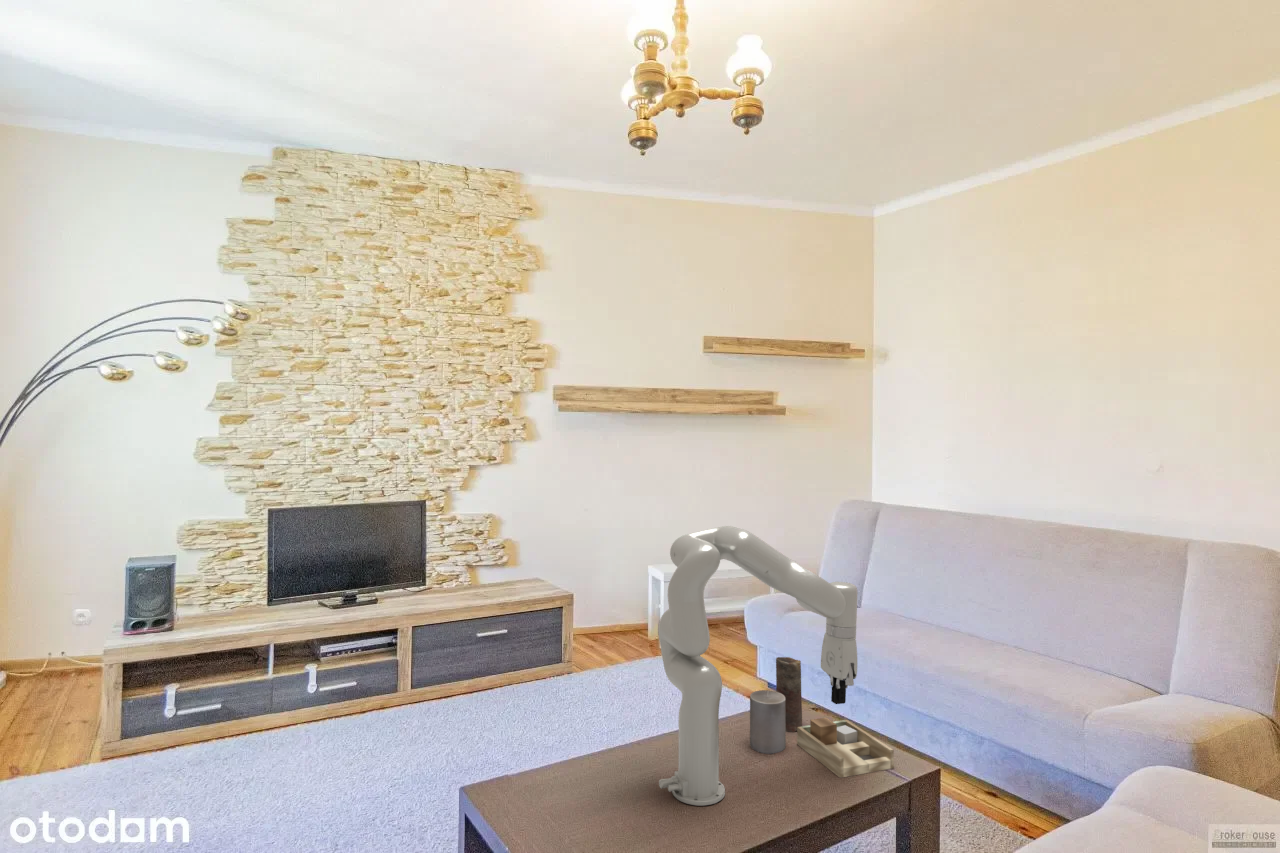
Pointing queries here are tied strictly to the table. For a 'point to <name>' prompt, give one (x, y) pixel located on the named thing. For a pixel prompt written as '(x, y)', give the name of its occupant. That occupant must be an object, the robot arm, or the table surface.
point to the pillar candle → (767, 721)
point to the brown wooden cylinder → (790, 690)
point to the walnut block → (824, 730)
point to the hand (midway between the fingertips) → (838, 702)
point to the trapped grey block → (846, 735)
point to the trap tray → (848, 752)
